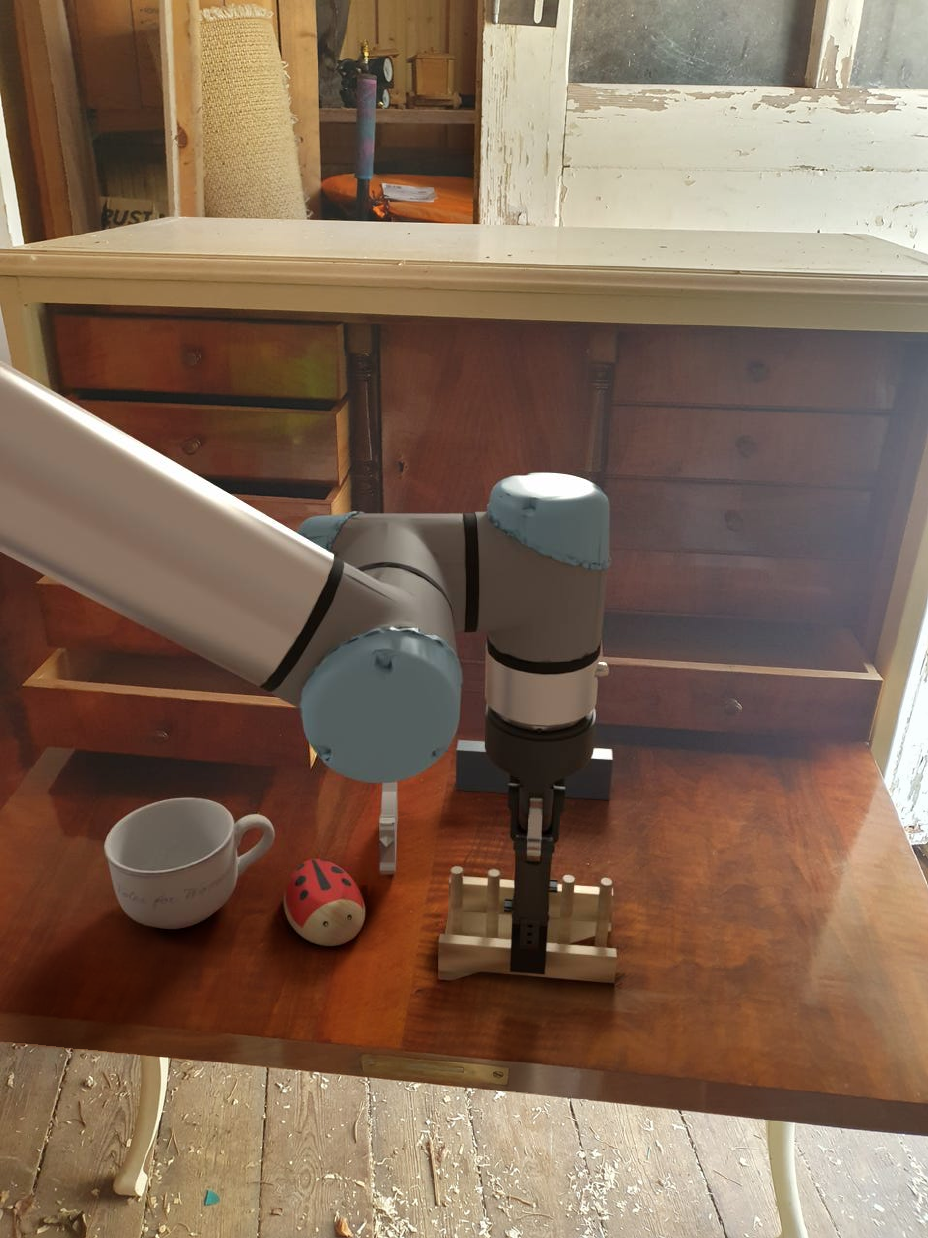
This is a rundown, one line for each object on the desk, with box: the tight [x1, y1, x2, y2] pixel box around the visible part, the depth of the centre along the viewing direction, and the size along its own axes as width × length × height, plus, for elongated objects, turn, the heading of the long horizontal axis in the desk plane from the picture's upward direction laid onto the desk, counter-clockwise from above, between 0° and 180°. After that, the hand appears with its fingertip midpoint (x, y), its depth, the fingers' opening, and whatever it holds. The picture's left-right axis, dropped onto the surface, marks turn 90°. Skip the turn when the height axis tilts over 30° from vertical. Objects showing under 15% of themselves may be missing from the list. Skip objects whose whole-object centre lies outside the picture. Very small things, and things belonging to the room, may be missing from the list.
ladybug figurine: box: [283, 858, 366, 947], centre depth 84 cm, size 7×10×4 cm
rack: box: [437, 865, 618, 984], centre depth 79 cm, size 14×8×8 cm, turn 84°
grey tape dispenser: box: [378, 781, 399, 875], centre depth 91 cm, size 6×1×10 cm
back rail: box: [455, 739, 614, 801], centre depth 100 cm, size 16×2×5 cm, turn 85°
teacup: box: [103, 797, 276, 930], centre depth 84 cm, size 14×11×8 cm
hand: (527, 966), depth 75 cm, fingers closed
